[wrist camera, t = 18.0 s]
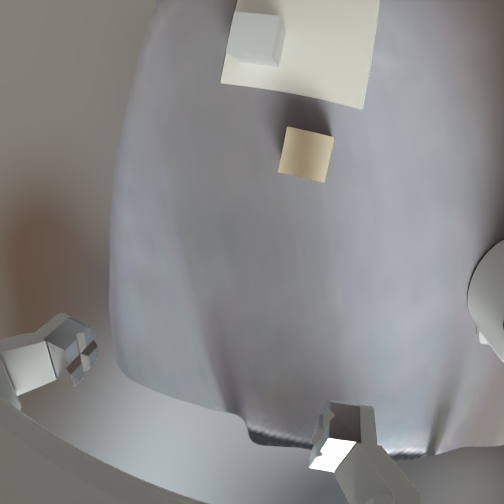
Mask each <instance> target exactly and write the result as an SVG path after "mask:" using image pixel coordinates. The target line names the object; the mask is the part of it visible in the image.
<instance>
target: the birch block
mask: <svg viewBox="0 0 504 504" xmlns="http://www.w3.org/2000/svg"><path fill="white" fill-rule="evenodd" d="M334 138H335V137H331V136H327V135H323V134H319V133H315V132H310V131H306V130H301V129H297V128H292V127H287V130H286V135H285V140H284V145H283V150H282V155H281V160H280V165H279V170H278V172H280V173H284V174H288V175H293V176H297V177H301V178H306V179H310V180H314V181H318V182H322V183H324V182H325V178H326V173H327V169H328V165H329V160H330V156H331V151H332V147H333V142H334Z"/></svg>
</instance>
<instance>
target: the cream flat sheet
mask: <svg viewBox="0 0 504 504" xmlns="http://www.w3.org/2000/svg"><path fill="white" fill-rule="evenodd" d="M379 4H380V0H237V5H236V9H235V12H243V13H256V14H266V15H276V16H280V17H281V20H282V23H283V26H284V28H285V31H286V34H285V40H284V45H283V50H282V55H281V60H280V66H279V68H278V67H272V66H265V65H257V64H249V63H240V62H238V61H237V60H236V59H235V58H234V57H232V56H231V55H230V54H229V53H227V52H226V56H225V61H224V67H223V72H222V77H221V82H220V83H223V84H232V85H240V86H248V87H255V88H261V89H268V90H274V91H280V92H286V93H291V94H296V95H301V96H306V97H311V98H316V99H320V100H325V101H329V102H334V103H338V104H342V105H346V106H350V107H354V108H357V109H361V110H363V106H364V100H365V95H366V90H367V84H368V78H369V73H370V67H371V61H372V54H373V48H374V41H375V34H376V27H377V20H378V12H379Z"/></svg>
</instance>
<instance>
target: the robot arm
mask: <svg viewBox="0 0 504 504" xmlns="http://www.w3.org/2000/svg"><path fill="white" fill-rule="evenodd" d="M468 308H469V312H470V315H471V317H472V319H473V320H474V322H475V324H476V326H477V339H478V340H479V342H480V343H481V344H489V345H490V346H491V347H492V348H493V350H494V351H495V352H496V354H497V355H498V356H499V358H500V359H501V360H502V361H503V362H504V240H502V241H501V242H499V243H498V244H496V245H495V246H494V247H493V248H491V249H490V250H489V251H488V252H487V254H486V255H485V256H484V257H483V259H482V260H481V261H480V263H479V265H478V266H477V268H476V270H475V272H474V274H473V277H472V279H471V282H470V286H469V291H468ZM95 338H96V331H95V329H94V328H93V327H91V326H89V325H86V324H85V323H82V322H81V321H78V320H76V319H74V318H72V317H70V316H68V315H66V314H64V313H59V314H57V315H56V316H55V317H54V318H52V319H51V320H50V321H49V322H47V323H46V324H45V325H44V326H42V327H41V328H40V329H39V330H38V331H36V333H34V334H32V333H27V334H23V335H18V336H13V337H9V338H5V339H0V504H208V503H205V502H201V501H199V500H195V499H192V498H189V497H186V496H183V495H180V494H178V493H175V492H172V491H169V490H167V489H164V488H161V487H158V486H156V485H154V484H151V483H149V482H146V481H144V480H141V479H139V478H137V477H135V476H132V475H130V474H128V473H125V472H123V471H121V470H119V469H117V468H115V467H113V466H111V465H109V464H107V463H105V462H103V461H101V460H99V459H97V458H95V457H93V456H91V455H90V454H88V453H86V452H84V451H82V450H80V449H78V448H77V447H75V446H73V445H72V444H70V443H68V442H67V441H65V440H63V439H62V438H60V437H58V436H57V435H55V434H53V433H52V432H51V431H49V430H47V429H46V428H44V427H43V426H41V425H40V424H38V423H37V422H35V421H34V420H33V419H31V418H30V417H28V416H27V415H25V414H24V413H23V412H21V411H20V410H21V404H20V402H19V399H18V397H17V396H18V395H20V394H23V393H25V392H28V391H30V390H33V389H35V388H37V387H40V386H42V385H45V384H47V383H50V382H52V381H54V380H56V378H57V379H59V380H60V381H62V382H64V383H66V384H68V385H70V386H72V387H75V386H76V385H77V384H78V383H79V382H80V380H81V379H82V378H83V377H84V371H86V370H89V369H91V368H92V367H93V366H94V364H95V362H96V360H97V358H98V346H97V344H96V343H95V341H94V339H95ZM312 442H313V443H314V445H315V446H314V447H313V449H312V450H311V454H310V464H309V468H313V469H320V470H325V471H331V472H334V475H335V477H336V479H337V481H338V483H339V485H340V487H341V489H342V490H343V492H344V494H345V496H346V498H347V500H348V502H349V504H420V496H419V492H418V491H417V490H416V489H415V487H414V486H413V485H412V484H411V482H410V481H409V480H408V479H407V477H406V476H405V475H404V474H403V472H402V471H401V470H400V469H399V467H398V466H397V465H396V464H395V463H394V461H393V460H392V459H391V457H390V456H389V455H388V454H387V452H386V451H385V450H384V449H383V447H382V446H378V445H377V436H376V425H375V415H374V409H373V407H371V406H364V405H357V404H351V403H345V402H339V401H333V400H328V401H327V402H326V404H325V406H324V411H323V414H321V415H319V417H318V419H317V421H316V424H315V427H314V430H313V436H312Z"/></svg>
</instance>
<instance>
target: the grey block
mask: <svg viewBox="0 0 504 504" xmlns="http://www.w3.org/2000/svg"><path fill="white" fill-rule="evenodd" d="M285 34H286V31H285V28H284V26H283V23H282V20H281V17H280V16H276V15H266V14H256V13H243V12H234V16H233V20H232V25H231V29H230V34H229V39H228V44H227V49H226V52H227V53H229V54H230V55H231V56H232V57H234V58H235V59H236V60H237V61H238V62H240V63H249V64H257V65H265V66H272V67H278V68H279V66H280V60H281V55H282V50H283V45H284V40H285Z"/></svg>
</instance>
